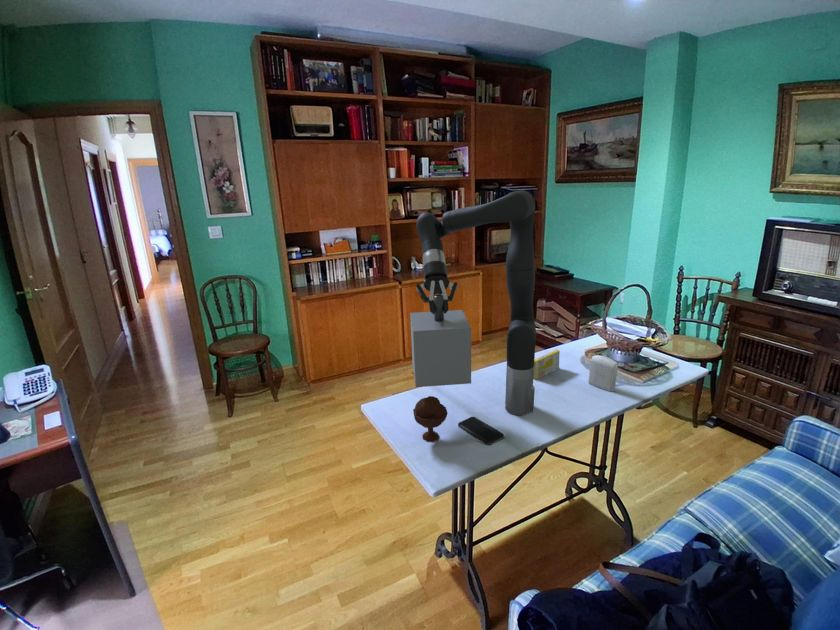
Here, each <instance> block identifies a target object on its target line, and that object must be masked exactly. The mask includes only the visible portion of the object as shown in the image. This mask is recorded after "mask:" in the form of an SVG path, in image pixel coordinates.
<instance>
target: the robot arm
mask: <svg viewBox="0 0 840 630" xmlns="http://www.w3.org/2000/svg"><path fill="white" fill-rule="evenodd" d="M535 211H536V201H535V199H534V197H533V195H532V193H531V192H529V191H527V190H524V189H519V190H515V191H511V192H509V193H508V194H506V195H504V196H502V197H499V198H497V199H495V200H493V201H490V202H486V203H483V204H478V205H472V206H466V207H461V208H456V209H453V210H448V211H446V212H444V213H443V214H442V217H441V220H439V219H438V218H437V217H436V216H435V215H434V214H433V213H431V212H429V211H426V212H422V213H421V214H420V215H418V217H417V220H416V231H417V235H418V238H419V241H420V243H421V249H422V250H421V251H422V269H423V278H424V280H423V283H422V284H419V283H418V284H416V287H415V289H416V292H417V293H418V295H419V297H420V298H421V301H422V302H423V303H424V304H425V303H428V305H429V306H428V307H429V309H428V310H429V312H432V314H434V313H435V309H434V301H433V296H434V295H438V294H440V295H443V296H444V313H447V312H448V311H449V308H450V307H449V302H453V299H454V296H455V294H456V291H457V288H458V282H457V281H455V282H450V280H449V278H448V272H447V271H448V270H447V264H446V263H447V262H446V257H445V253H444V246H443V241H442V240H441V239H442V238H444V237H446V236H448V235H450V234H452V233H453V232H459V231H464V230H467V229H472V228H475V227H478V226H482V225H488V224H494V223H495V224H496V223H509V226H510V228H509V229H510V237H509V238H510V239H509V243H508V248H507V253H506V258H505V280H506V287H507V288H506V289H507V293H508V297H509V302H510V315H509V316H510V317H509V318H510V320H509V326H508V331H507V335H506V336H507V337H506V373H505V397H504V398H505V402H504V404H505V406H504V409H505V411H506V412H508V413H509V414H510V415H515V416H525V415H528V414H530V413H534V406H535V394H536V393H535V391H536V390H535V385H534V379H533V375H534V360H535V355H536V342H537V341H536V340H537V338H536V337H537V328H536V322H535V316H534V315H535V314H534V307H533V306H534V304H533V303H534V295H535V284H536V265H535V264H536V263H535V247H534V245H535V244H534V225H535V223H534V222H535V215H536V214H535ZM448 288H449V290H450V293H449V295H448V294H447V289H448ZM425 289H426V290H427V292H429V296H427V294H426V293H425Z"/></svg>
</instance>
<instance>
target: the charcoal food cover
mask: <svg viewBox="0 0 840 630" xmlns="http://www.w3.org/2000/svg"><path fill="white" fill-rule="evenodd" d="M433 301H434V309H435V313H434V314H432V312H430V311H420V312H419V311H417V312H409V315H410V316H409V318H410V338H411V357H412V359H411V360H412V368H413V369H412V370H413V378H414V383H415V384H414V386H415V388H423V387H441V386H456V385H457V386H458V385H471V384H472V326H471V325H470V323H469V321H468V318H467V317H466V315H465V312H464V311H463V310H462V309H455V310H448V312H447V313H444V296H443V295H441V294H434V295H433Z"/></svg>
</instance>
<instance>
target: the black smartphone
mask: <svg viewBox="0 0 840 630" xmlns="http://www.w3.org/2000/svg"><path fill="white" fill-rule="evenodd" d="M457 427H458V428H459V429H461V430H462V431H463V432H466V434H469V436H471V437H473V438H475V439H477V440H478V441H479V442H480V443H482V444H484V445H485V446H492V445H494V444H495V443H499V441H501V440H503V439H504V438H505V433H503V432H501V431H499V430H498V429H496V428H494V427H493V426H492V425H489V424H488V423H487V422H484V421H482V420H481V419H479V418H478V417H476V416H470V417H468V418H465V419H464V420H462V421H459V422H457Z"/></svg>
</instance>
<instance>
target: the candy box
mask: <svg viewBox="0 0 840 630" xmlns="http://www.w3.org/2000/svg"><path fill="white" fill-rule="evenodd" d="M560 353H561V352H560V350H558V349H555V350H553V351H551V352H549V353H546V354H544V355H542V356H540V357H538V358H536V359H535V360H534V375H533V380H534V379H535V380H534V381H536V380H538V379H540V378H542V377H545V376H546V374H547V375H548V373H549V374H550V372H551V373H552V371H553V372H554V370H555V371H556V370H557V371H558V368H559V369H560ZM544 375H545V376H544Z"/></svg>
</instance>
